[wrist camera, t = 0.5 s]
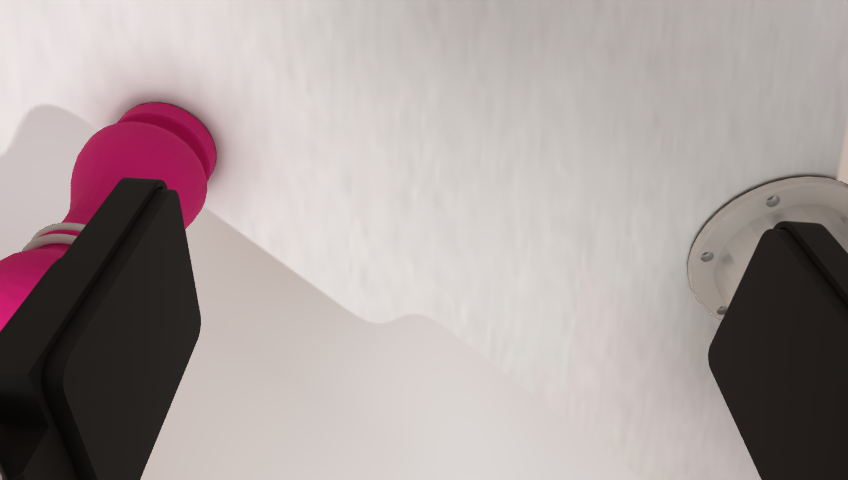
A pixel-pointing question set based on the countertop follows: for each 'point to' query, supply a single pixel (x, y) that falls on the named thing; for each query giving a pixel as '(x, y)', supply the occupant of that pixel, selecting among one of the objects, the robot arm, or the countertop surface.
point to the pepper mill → (101, 171)
